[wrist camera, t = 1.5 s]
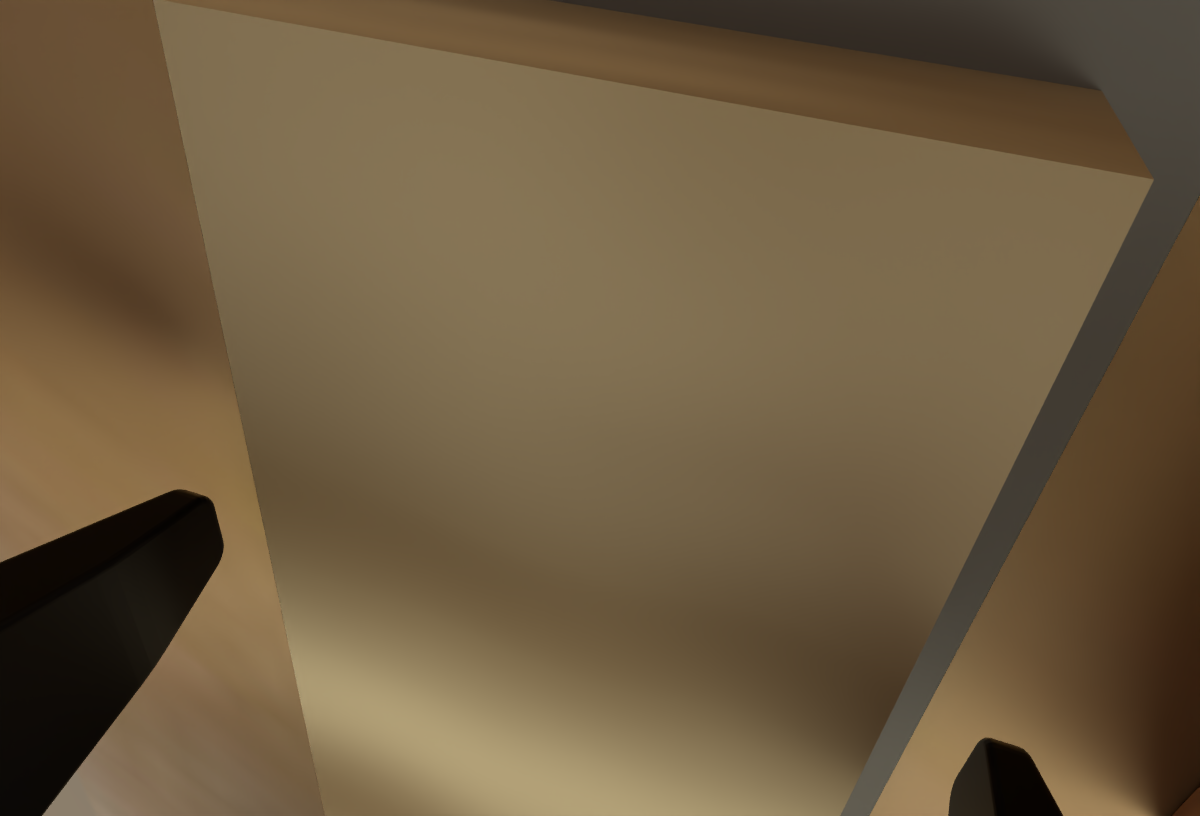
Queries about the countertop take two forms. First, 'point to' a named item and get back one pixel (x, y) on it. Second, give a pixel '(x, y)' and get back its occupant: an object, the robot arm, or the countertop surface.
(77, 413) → the countertop surface
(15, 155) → the countertop surface
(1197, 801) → the open box
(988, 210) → the beige block on tray
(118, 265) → the countertop surface
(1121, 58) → the mat
